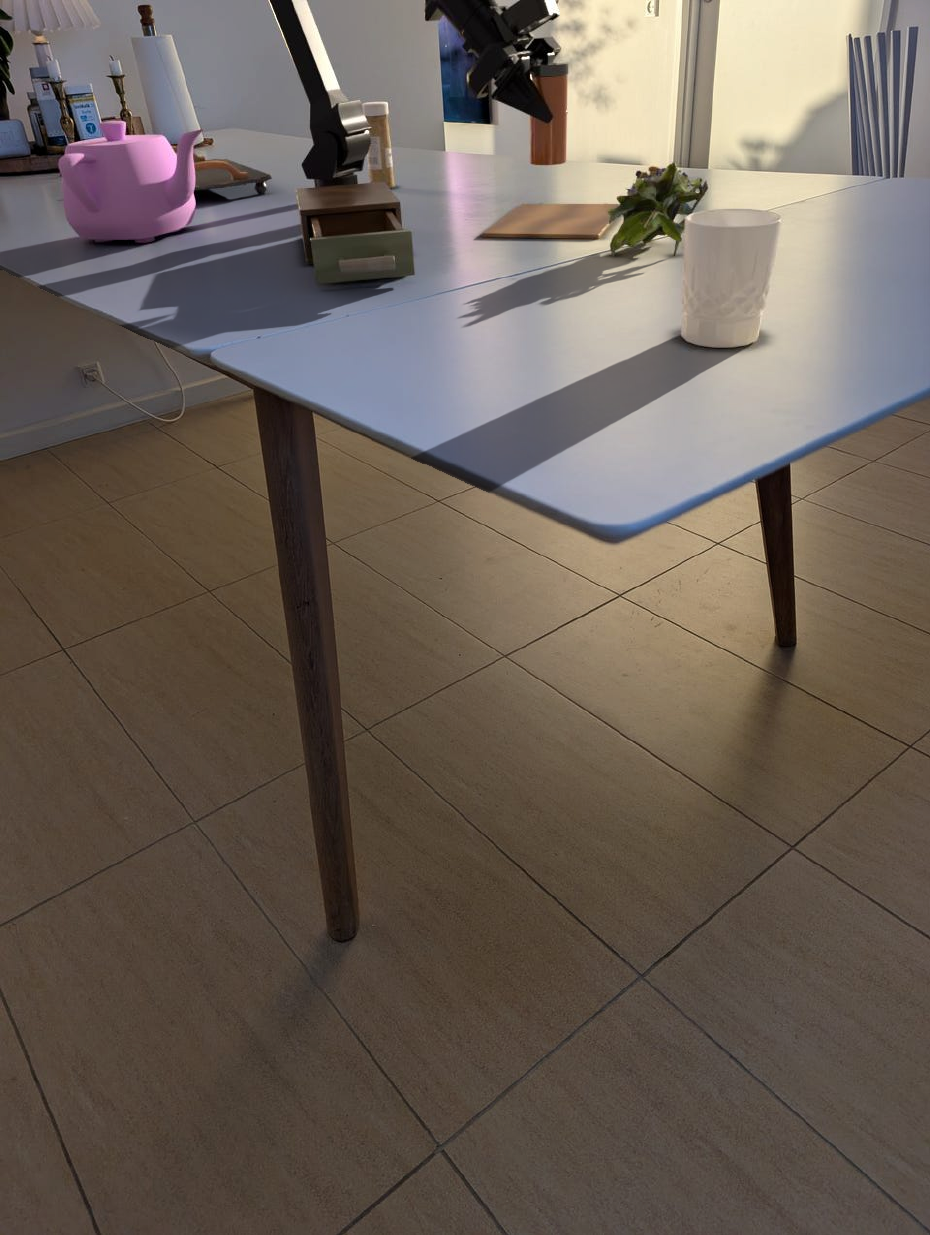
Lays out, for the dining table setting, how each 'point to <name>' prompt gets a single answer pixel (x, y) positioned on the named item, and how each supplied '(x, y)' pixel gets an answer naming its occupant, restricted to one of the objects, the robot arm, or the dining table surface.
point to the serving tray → (225, 174)
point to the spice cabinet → (342, 204)
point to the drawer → (360, 246)
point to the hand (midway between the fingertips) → (558, 118)
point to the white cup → (727, 274)
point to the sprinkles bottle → (379, 143)
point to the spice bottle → (553, 89)
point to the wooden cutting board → (553, 221)
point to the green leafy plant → (655, 206)
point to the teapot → (128, 185)
